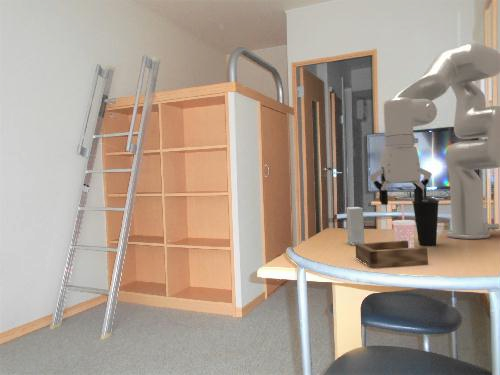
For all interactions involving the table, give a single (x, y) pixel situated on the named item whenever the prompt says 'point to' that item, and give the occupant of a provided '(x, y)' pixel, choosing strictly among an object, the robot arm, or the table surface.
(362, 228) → the skincare box
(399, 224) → the beverage cup
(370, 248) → the dark wooden tray
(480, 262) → the table surface
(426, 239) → the drinking cup
